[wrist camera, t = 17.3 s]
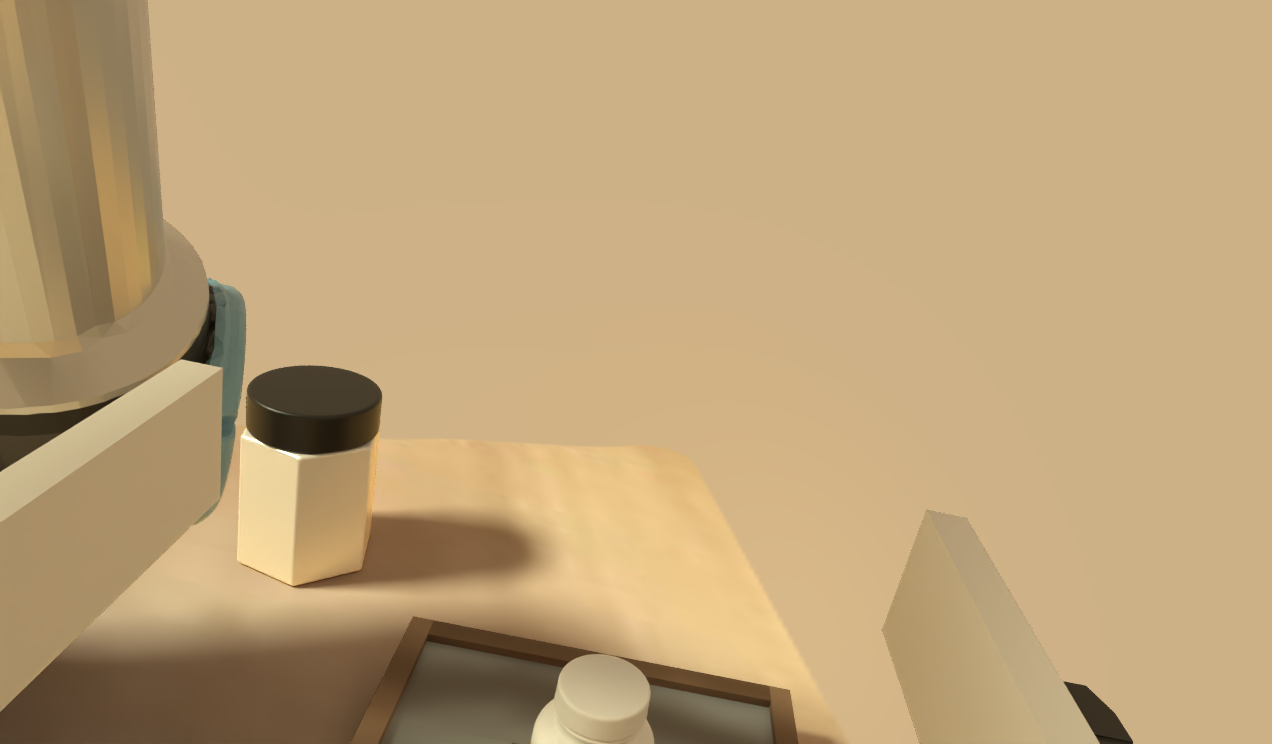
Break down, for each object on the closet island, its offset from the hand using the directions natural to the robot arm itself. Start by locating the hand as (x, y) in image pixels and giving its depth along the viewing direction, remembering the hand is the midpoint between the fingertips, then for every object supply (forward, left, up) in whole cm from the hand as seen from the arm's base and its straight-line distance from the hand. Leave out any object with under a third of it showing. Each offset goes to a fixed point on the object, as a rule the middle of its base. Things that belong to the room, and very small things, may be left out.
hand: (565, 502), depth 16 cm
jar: (-40, +2, -28) cm, 49 cm away
